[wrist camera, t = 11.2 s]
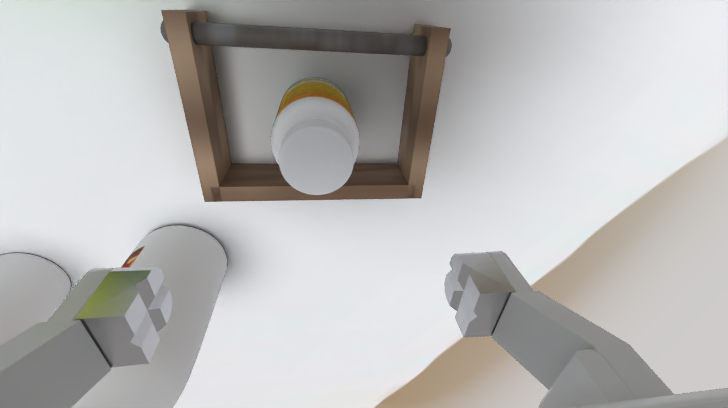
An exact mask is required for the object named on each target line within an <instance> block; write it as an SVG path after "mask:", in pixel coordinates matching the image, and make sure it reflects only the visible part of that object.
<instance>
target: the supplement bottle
mask: <svg viewBox="0 0 728 408" xmlns="http://www.w3.org/2000/svg"><path fill="white" fill-rule="evenodd" d="M271 148H272V152H273V155H274V158H275V160H276V162H277V163H278V165H279V167H280V171H281V173H282V175H283V177H284V179H285V180H286V181H287V182H288V183H289V184H290V185H291V186H292V187H293V188H295V189H296V190H298V191H300V192H303V193H306V194H310V195H323V194H328V193H331V192H333V191H335V190H337V189H339V188H340V187H342V186H343V185H344V184H345V183H346V182H347V180H348V179H349V177H350V175H351V173H352V170H353V166H354V163H355V161H356V159H357V156H358V153H359V148H360V137H359V131H358V128H357V125H356V122H355V119H354V117H353V114H352V111H351V108H350V106H349V103H348V100H347V98H346V97H345V95H344V94H343V92H342V91H341V90H340V89H339V88H338V87H337V86H336V85H335V84H333V83H332V82H330V81H327V80H325V79H321V78H306V79H303V80H300V81H298V82H296V83H295V84H293V85H292V86H291V87H290V88H289V89H288V90H287V91H286V93H285V94H284V96H283V98H282V101H281V103H280V107H279V110H278V113H277V116H276V119H275V122H274V125H273V128H272V133H271Z"/></svg>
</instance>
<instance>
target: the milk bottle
mask: <svg viewBox="0 0 728 408" xmlns="http://www.w3.org/2000/svg"><path fill="white" fill-rule="evenodd" d="M129 267H158V268H161V270H162V272H163V274H164V277H165V278H164V280H163V282H162V285H164V286H165V287H167V288H168V289H169V290H170V293H171V295H172V310H171V315H170V318H169V320H168V322H167V325H165V326H164V327H163V328H162V329H160V330H159V331H158V332H157V334H158V336H159V338H160V341H159V343H158V345H157V347H156V349H155V352H154V354H153V356H152V358H151V361H150V363H149V364H140V365H131V366H122V367H113V368H111V371H110V372H108V373H107V374H106V375H105V376H104V377H103V378H102V379H101V380H100V381H99V382H98V383H97V384H96V385H95V386H94V387H93V388H92V389H91V390H89V391H88V392H87V393H86V394H85V395H84V396H83V397H82V398H81V399H80V400H79V401H78V402H77V403H76V404H75V405H74V406H73V407H71V408H173V406H174V405H175V403H176V402H177V400H178V398H179V397H180V395H181V393H182V392H183V390H184V388H185V385H186V383H187V381H188V379H189V377H190V374H191V372H192V369H193V366H194V364H195V361H196V358H197V356H198V353H199V350H200V347H201V344H202V341H203V339H204V336H205V333H206V330H207V327H208V324H209V321H210V318H211V315H212V312H213V309H214V306H215V303H216V300H217V297H218V294H219V291H220V288H221V285H222V282H223V279H224V276H225V272H226V268H227V257H226V254H225V252H224V249H223V248H222V246H221V245H220V243H219V242H218V241H217V240H216V239H215V238H214V237H212V236H211V235H209V234H208V233H206V232H204V231H202V230H199V229H196V228H193V227H188V226H176V225H174V226H166V227H163V228H160V229H157V230H155V231H153V232H151V233H149V234H148V235H146V236H145V237H144V238H143V239H142V241H141V242H140V243H139V244H138V246H137V247H136V248H135V250H134V251H133V252H132V254H131V255H130V256H129V258H128V259H127V260H126V262H125V263H124V264H123V266H122V267H121V268H129Z"/></svg>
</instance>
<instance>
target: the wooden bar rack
mask: <svg viewBox="0 0 728 408" xmlns="http://www.w3.org/2000/svg"><path fill="white" fill-rule="evenodd" d="M161 11H162V15H163V22H162V24H161V33H162V36H163V38H164V39H165V40H166V41H167V42H168V43H169V46H170V51H171V55H172V59H173V64H174V68H175V73H176V77H177V82H178V86H179V90H180V95H181V99H182V104H183V108H184V112H185V117H186V121H187V126H188V130H189V134H190V139H191V143H192V148H193V152H194V156H195V161H196V165H197V170H198V174H199V178H200V183H201V187H202V192H203V196H204V200H205V202H217V201H278V200H340V199H402V198H421V196H422V190H423V185H424V179H425V173H426V167H427V162H428V156H429V150H430V144H431V139H432V133H433V127H434V121H435V116H436V110H437V104H438V98H439V93H440V87H441V81H442V75H443V70H444V64H445V58H446V56H447V55H448V54H449V53H450V51H451V46H452V44H451V40H450V38H449V35H450V29H449V28H443V27H437V26H430V25H414V31H413V35H408V34H392V33H375V32H358V31H341V30H325V29H308V28H291V27H274V26H257V25H241V24H224V23H208V21H207V15H206V11H197V10H161ZM212 46H232V47H252V48H272V49H292V50H312V51H332V52H352V53H372V54H392V55H411V56H410V64H409V72H408V80H407V89H406V97H405V105H404V113H403V121H402V130H401V138H400V146H399V154H398V162H397V164H354V166H353V170H352V173H351V175H350V177H349V179H348V180H347V182H346V183H345V184H344V185H343V186H342V187H340V188H339V189H337V190H335V191H333V192H331V193H328V194H323V195H310V194H306V193H303V192H300V191H298V190H296V189H295V188H293V187H292V186H291V185H290V184H289V183H288V182H287V181H286V180H285V179H284V177H283V175H282V173H281V171H280V167H279V165H278V164H231V159H230V153H229V147H228V141H227V135H226V129H225V123H224V117H223V111H222V105H221V99H220V93H219V87H218V81H217V75H216V69H215V63H214V57H213V51H212Z"/></svg>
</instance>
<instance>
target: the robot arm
mask: <svg viewBox="0 0 728 408" xmlns="http://www.w3.org/2000/svg"><path fill="white" fill-rule="evenodd" d="M450 266H451V268H452V270H451V271H450V272H449V273H448V274H447V275H446V279H445V294H446V298H447V300H448V303H449V305H450V306H451V307H452V308H454V309H455V310H456V311H457V313H456V316H455V319H456V321H457V323H458V326H459V328H460V330H461V332H462V335H463V337H479V336H480V337H481V336H492V338H493V339H494V340H495V341H496V342H497V343H498V344H499V345H500V346H501V347H503V348H504V349H505V350H506V351H507V352H508V353H509V354H510V355H511V356H512V357H514V358H515V359H516V360H517V361H518V362H519V363H520V364H521V365H522V366H523V367H524V368H525V369H527V370H528V371H529V372H530V373H531V374H532V375H533V376H534V377H535V378H536V379H537V380H539V381H540V382H541V383H542V384H543V385H544V386H545V387H546V388H547V389H548V390H549V391H548V392H547V394H546V395H545V397H544V398H543V399H542V401H541V403H540V405H539V408H728V388H723V389H715V390H708V391H698V392H691V393H683V394H673V393H672V391H671V390H670V389H669V388H668V387H667V386H666V385H665V384H664V383H663V381H662V380H661V379H660V378H659V377H658V376H657V375H656V374H655V372H653V370H652V369H651V368H650V367H649V366H648V365H647V364H646V363H645V361H644V360H643V359H642V358H641V357H640V356H639V355H638V354H637V352H635V350H634V349H633V348H632V347H631V346H630V345H629V344H627V343H626V342H624V341H622V340H621V339H619V338H617V337H616V336H614V335H612V334H611V333H609V332H607V331H606V330H604V329H602V328H601V327H599V326H597V325H595V324H594V323H592V322H590V321H589V320H587V319H585V318H584V317H582V316H580V315H579V314H577V313H575V312H573V311H571V310H570V309H568V308H567V307H565V306H563V305H561V304H560V303H558V302H557V301H555V300H553V299H552V298H550V297H548V296H546V295H545V294H543V293H541V292H540V291H533V290H532V288H531V287H530V285H529V284H528V283H527V281H526V280H525V279H524V277H523V276H522V275H521V273H520V272H519V271H518V269H517V268H516V267H515V265H514V264H513V263H512V261H511V260H510V259H509V257H508V256H507V255H506V254H505V253H504V252H502V251H497V252H485V253H484V252H482V253H463V254H454V255H453V256H452V257H451V261H450ZM164 278H165V277H164V274H163V272H162V270H161V268H158V267H129V268H102V269H92V270H90V271H88V272H87V273H86V274H85V275H84V277H83V278H82V279H81V280H80V282H79V283H78V284H77V285H76V286H75V288H74V289H73V290H72V291H71V293H70V294H69V295H68V296H67V297H66V299H65V300H64V301H63V302H62V304H61V305H60V306H59V307H58V308H57V310H56V311H55V312H54V313H53V315H52V316H51V317H50V318H49V319H48V321H47V322H40V323H37V324H36V325H34V326H32V327H31V328H29V329H27V330H25V331H24V332H22V333H20V334H19V335H17V336H15V337H14V338H12V339H10V340H9V341H7V342H5V343H4V344H2V345H0V408H71V407H73V406H74V405H75V404H76V403H77V402H78V401H79V400H80V399H81V398H82V397H83V396H84V395H85V394H86V393H87V392H88V391H89V390H91V389H92V388H93V387H94V386H95V385H96V384H97V383H98V382H99V381H100V380H101V379H102V378H103V377H104V376H105V375H106V374H107V373H108V372H110V371H111V368H113V367H122V366H131V365H140V364H149V363H150V361H151V358H152V356H153V354H154V352H155V349H156V347H157V345H158V343H159V341H160V338H159V336H158V334H157V332H158V331H159V330H160V329H162V328H163V327H164V326H165V325H167V322H168V320H169V318H170V315H171V310H172V295H171V293H170V290H169V289H168V288H167V287H165V286H164V285H162V282H163V280H164Z"/></svg>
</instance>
